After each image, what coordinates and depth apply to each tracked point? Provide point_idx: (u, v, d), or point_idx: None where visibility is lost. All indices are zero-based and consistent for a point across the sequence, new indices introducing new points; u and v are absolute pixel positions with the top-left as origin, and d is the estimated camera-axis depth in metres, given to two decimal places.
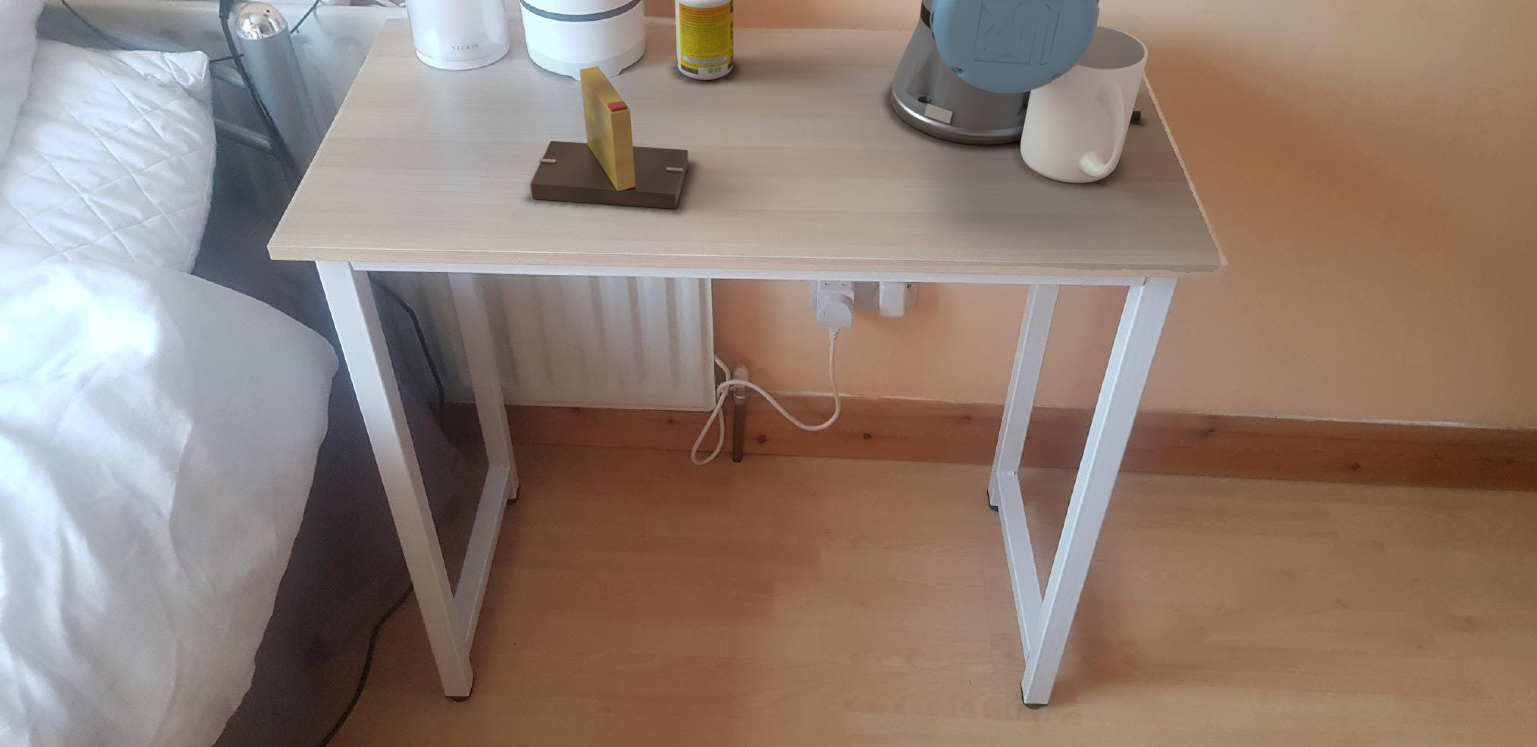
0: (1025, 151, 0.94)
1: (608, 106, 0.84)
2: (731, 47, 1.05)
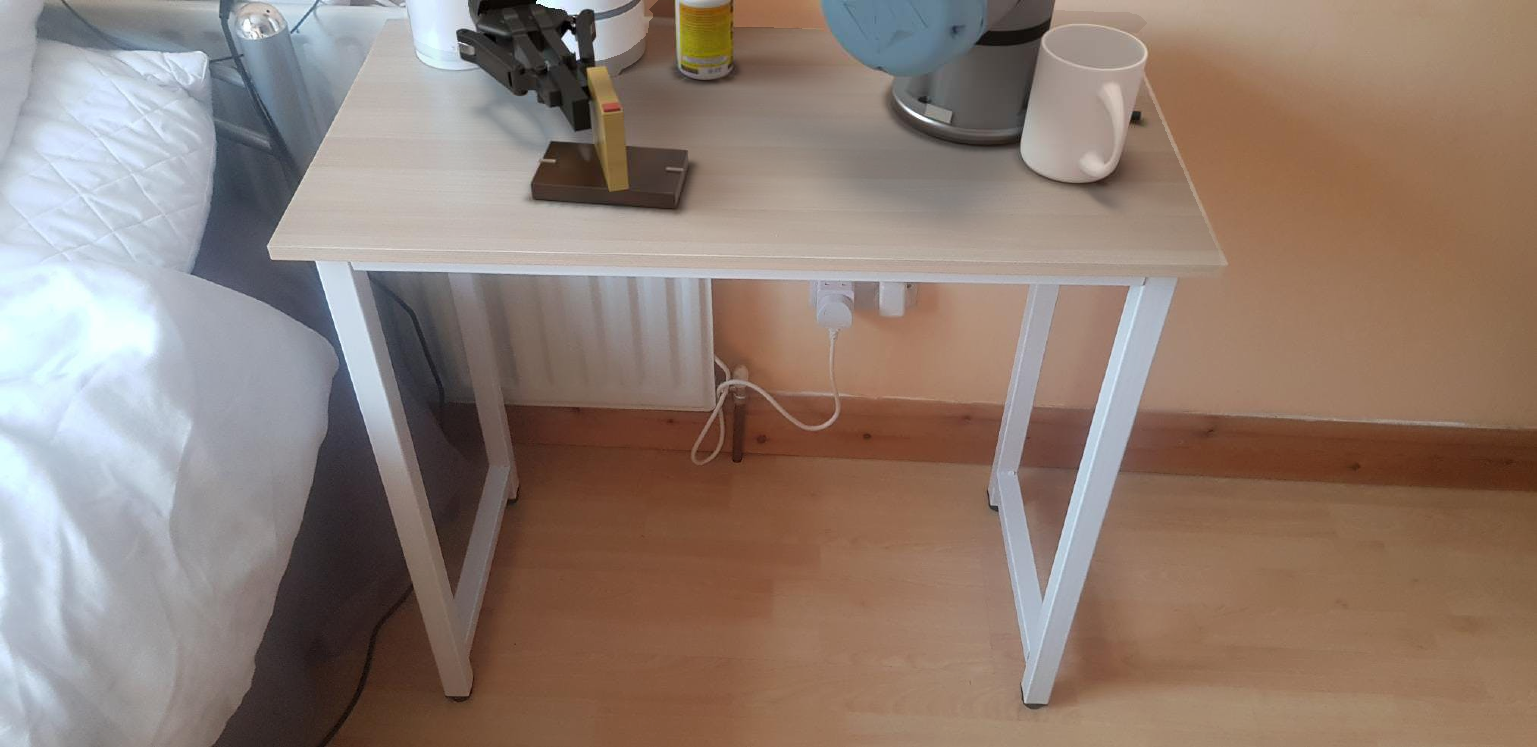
0: (1025, 151, 0.94)
1: (602, 106, 0.84)
2: (731, 47, 1.05)
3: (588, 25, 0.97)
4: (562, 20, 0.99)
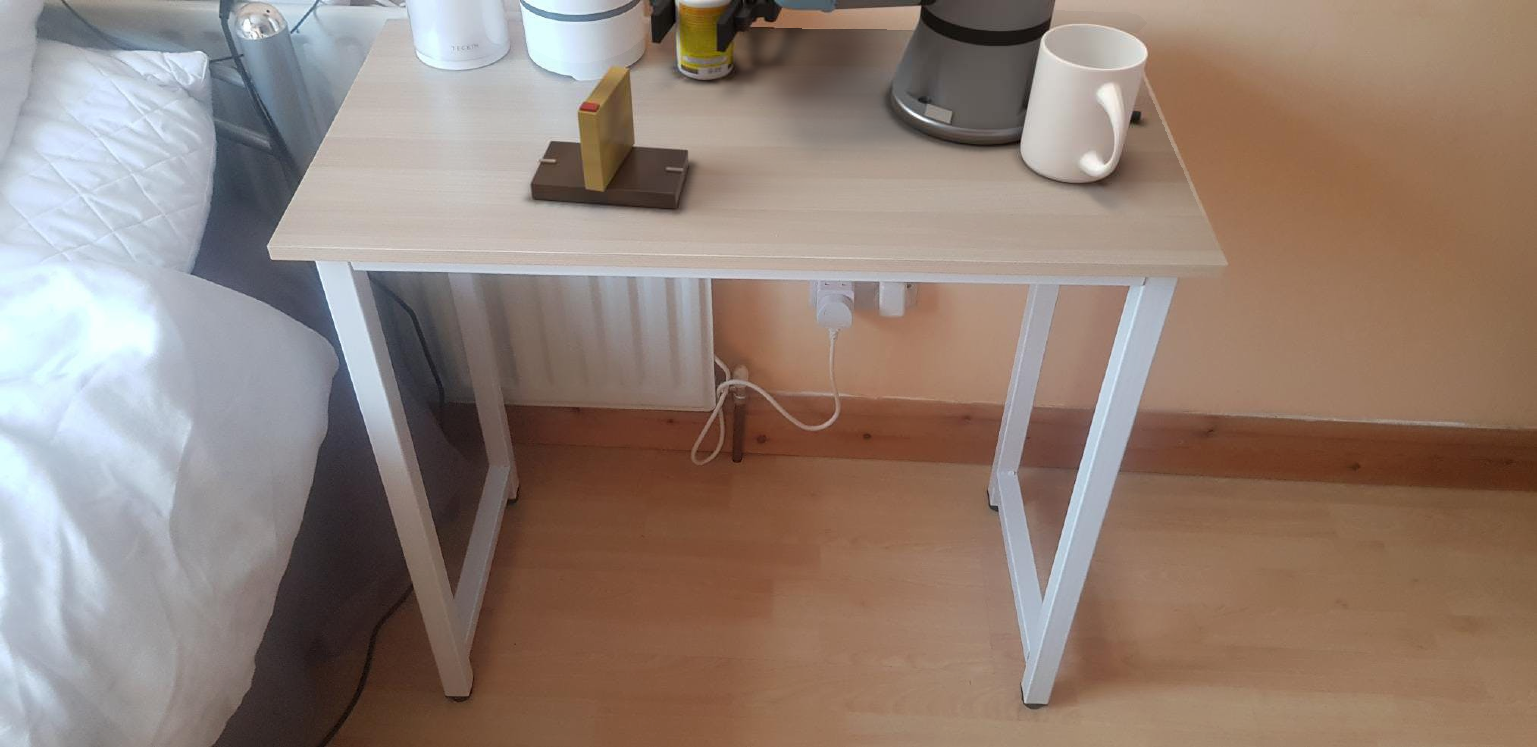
0: (1025, 151, 0.94)
1: (582, 104, 0.84)
2: (731, 47, 1.05)
3: None
4: None
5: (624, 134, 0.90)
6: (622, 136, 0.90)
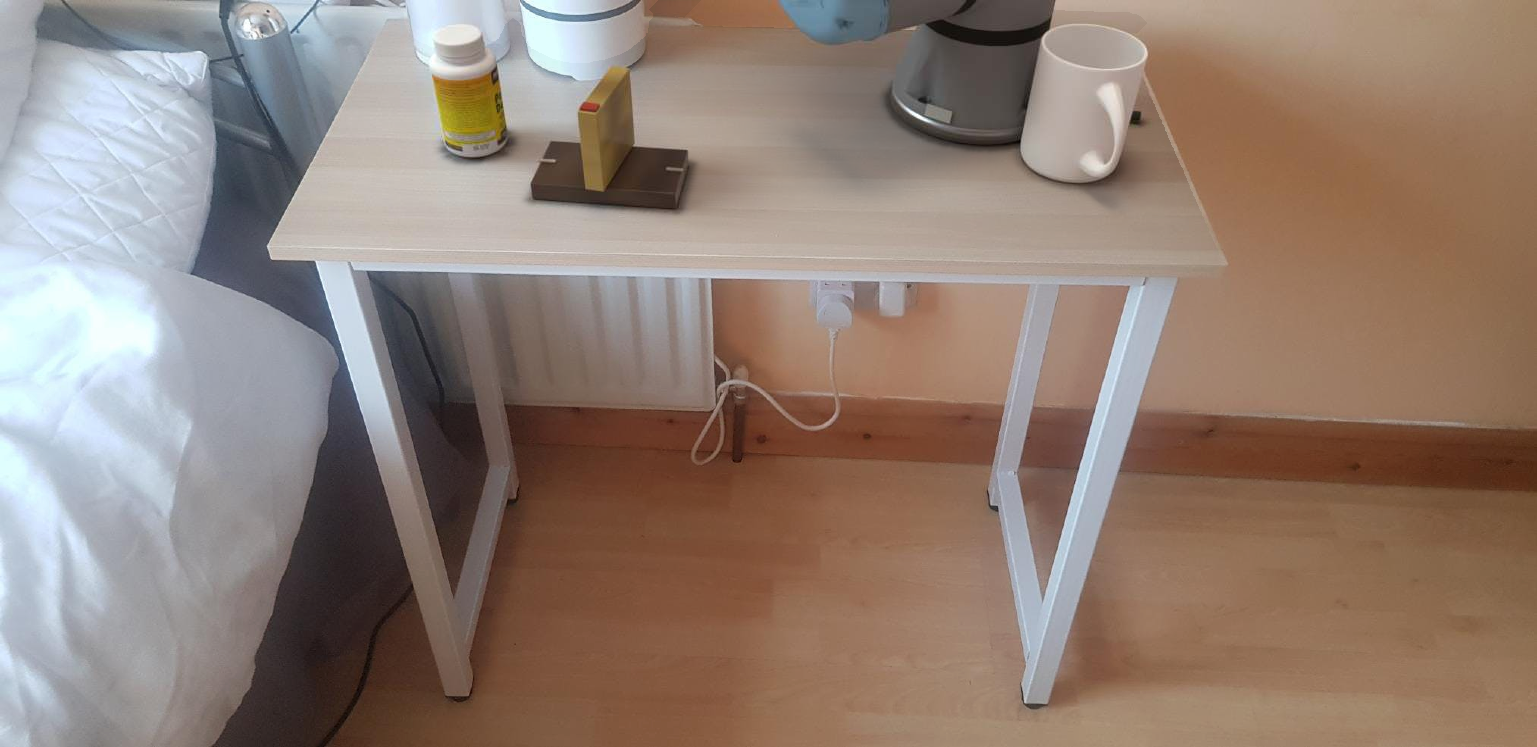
0: (1025, 151, 0.94)
1: (582, 104, 0.84)
2: (500, 121, 0.93)
3: None
4: None
5: (624, 134, 0.90)
6: (622, 136, 0.90)
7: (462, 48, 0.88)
